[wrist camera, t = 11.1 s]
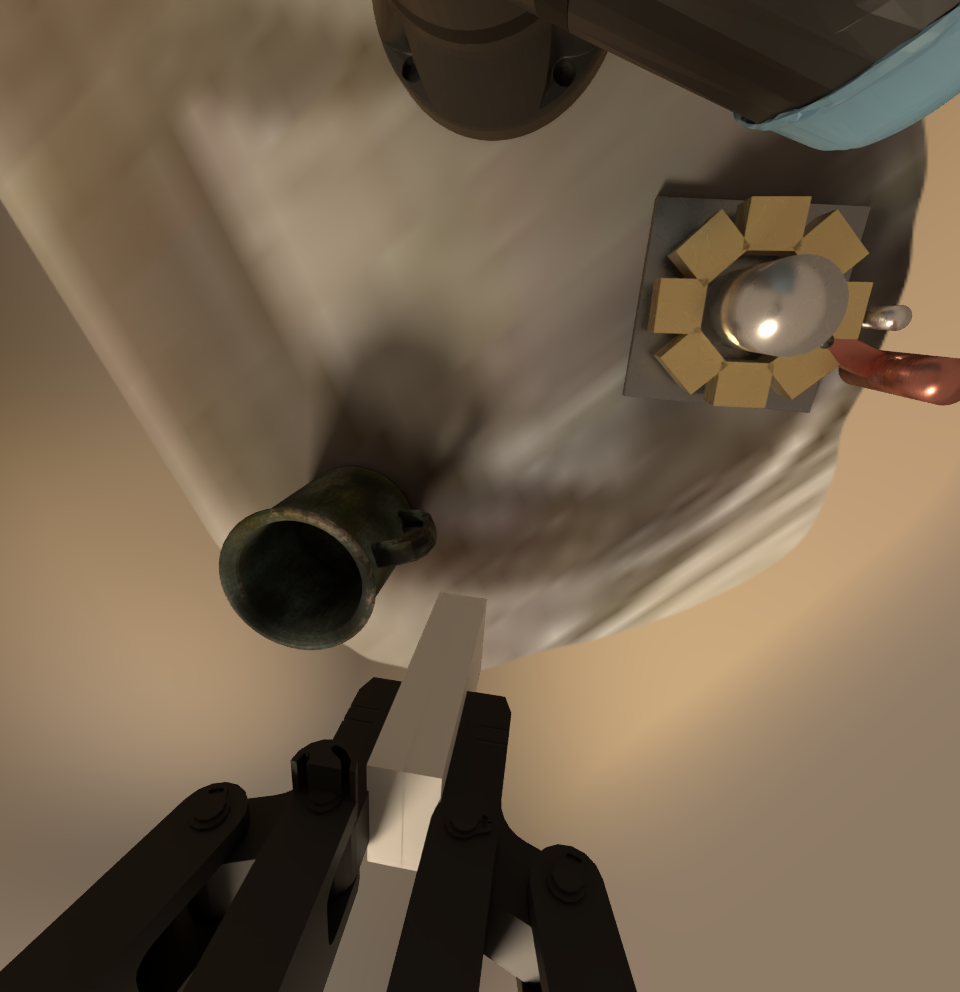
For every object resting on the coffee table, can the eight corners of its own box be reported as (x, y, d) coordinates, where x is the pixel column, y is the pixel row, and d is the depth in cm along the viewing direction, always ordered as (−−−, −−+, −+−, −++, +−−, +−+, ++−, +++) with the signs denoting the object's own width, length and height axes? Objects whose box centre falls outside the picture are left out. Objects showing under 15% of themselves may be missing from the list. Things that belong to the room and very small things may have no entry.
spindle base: (655, 199, 34) (692, 155, 25) (892, 211, 32) (1028, 168, 23) (622, 393, 38) (643, 419, 29) (829, 412, 37) (921, 445, 27)
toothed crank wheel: (612, 355, 36) (627, 366, 28) (709, 171, 32) (760, 123, 24) (815, 453, 36) (887, 491, 28) (941, 284, 32) (1067, 274, 24)
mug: (282, 473, 45) (191, 525, 34) (436, 439, 42) (392, 484, 31) (323, 580, 48) (252, 660, 37) (469, 555, 45) (440, 635, 34)
